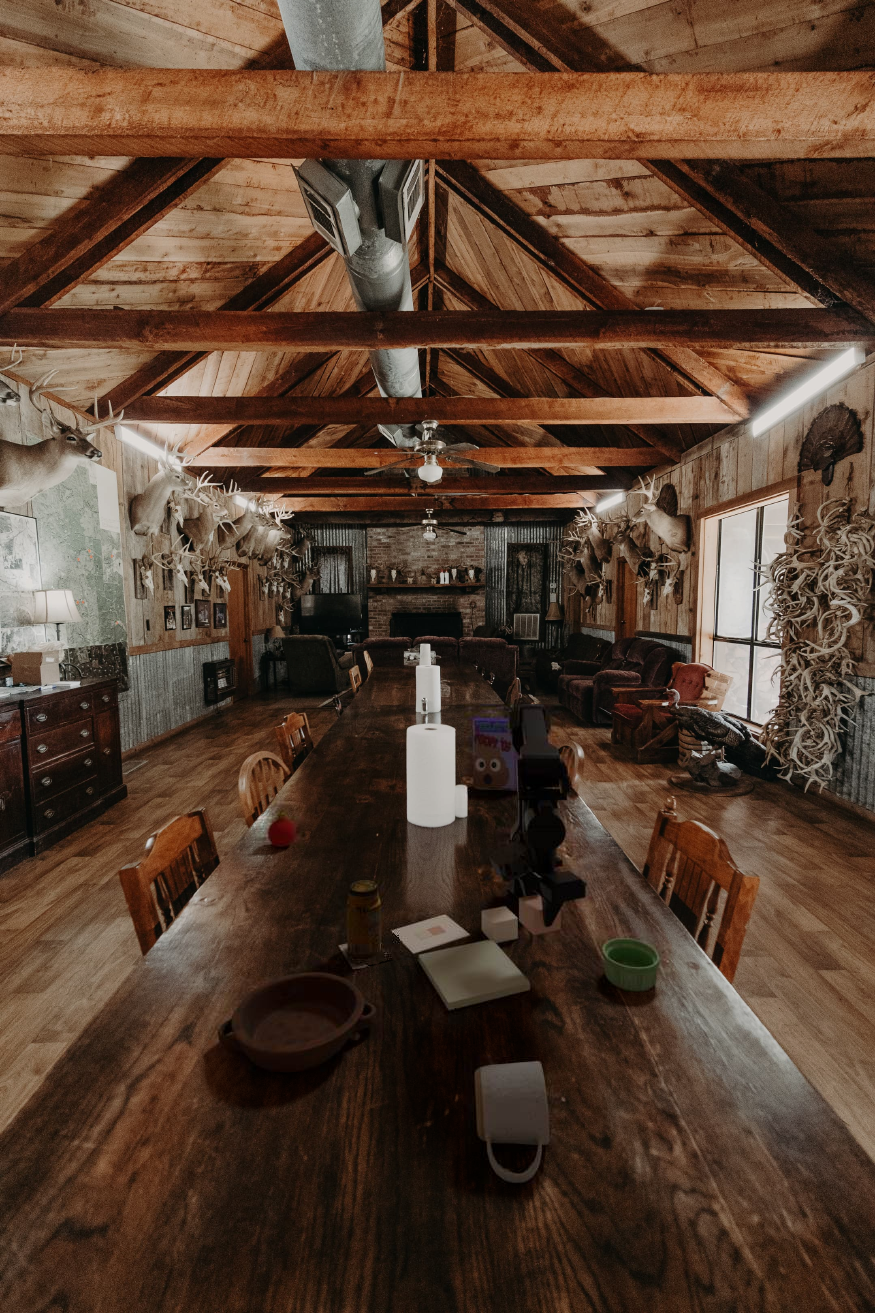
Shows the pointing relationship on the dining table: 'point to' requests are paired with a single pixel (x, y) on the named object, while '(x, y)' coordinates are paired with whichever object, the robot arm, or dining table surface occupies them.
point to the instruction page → (430, 933)
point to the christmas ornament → (281, 831)
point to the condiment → (362, 923)
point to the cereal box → (493, 754)
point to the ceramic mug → (512, 1110)
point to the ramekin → (630, 964)
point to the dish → (297, 1021)
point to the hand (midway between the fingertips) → (539, 918)
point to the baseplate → (472, 974)
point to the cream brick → (499, 924)
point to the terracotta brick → (535, 915)
